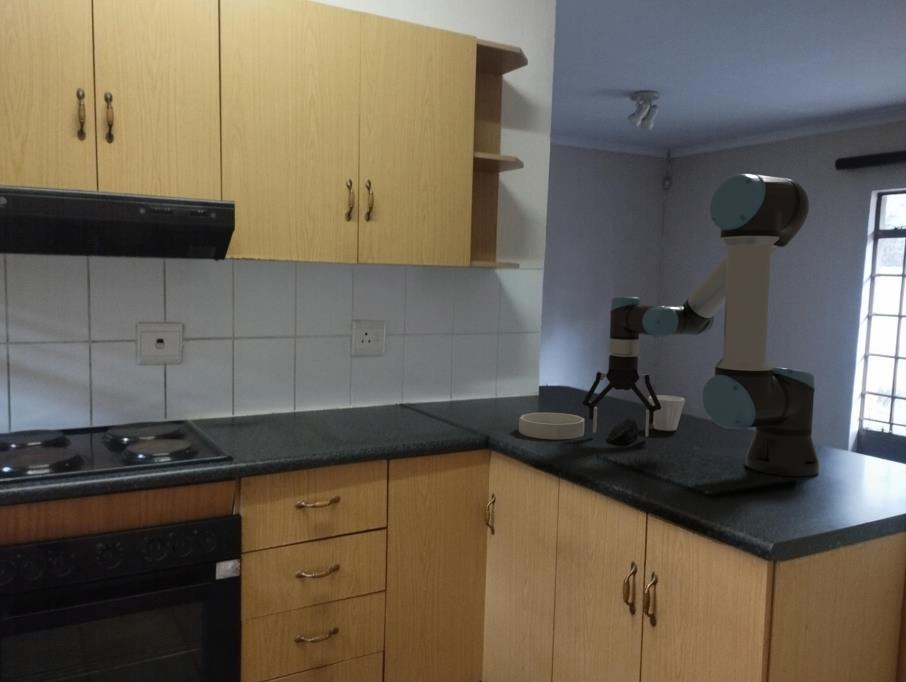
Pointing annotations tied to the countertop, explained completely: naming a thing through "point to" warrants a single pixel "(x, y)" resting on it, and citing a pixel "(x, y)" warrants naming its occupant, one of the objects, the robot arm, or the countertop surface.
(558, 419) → the bowl
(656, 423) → the cup
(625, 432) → the rock
